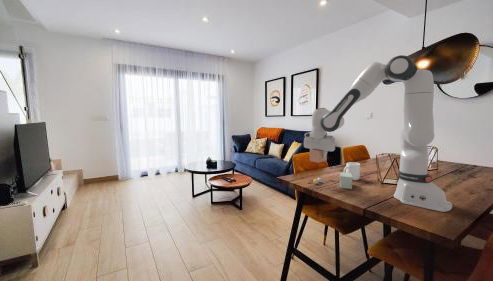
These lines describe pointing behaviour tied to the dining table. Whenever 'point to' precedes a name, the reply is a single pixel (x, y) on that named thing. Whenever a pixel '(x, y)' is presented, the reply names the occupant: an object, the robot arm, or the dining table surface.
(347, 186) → the mint green block
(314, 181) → the marble amber
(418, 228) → the dining table surface
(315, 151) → the dusty pink block
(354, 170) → the mug
